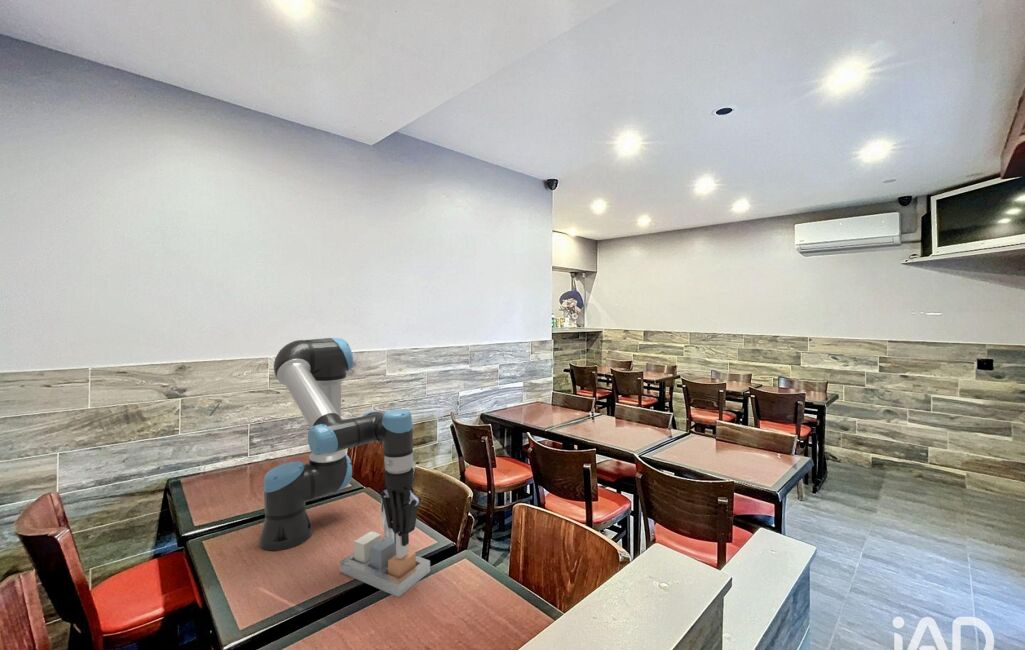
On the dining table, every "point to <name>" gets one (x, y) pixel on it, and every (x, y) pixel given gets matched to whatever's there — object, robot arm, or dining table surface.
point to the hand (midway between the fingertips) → (402, 555)
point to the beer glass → (387, 531)
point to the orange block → (401, 565)
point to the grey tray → (384, 574)
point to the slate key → (383, 552)
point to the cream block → (365, 546)
